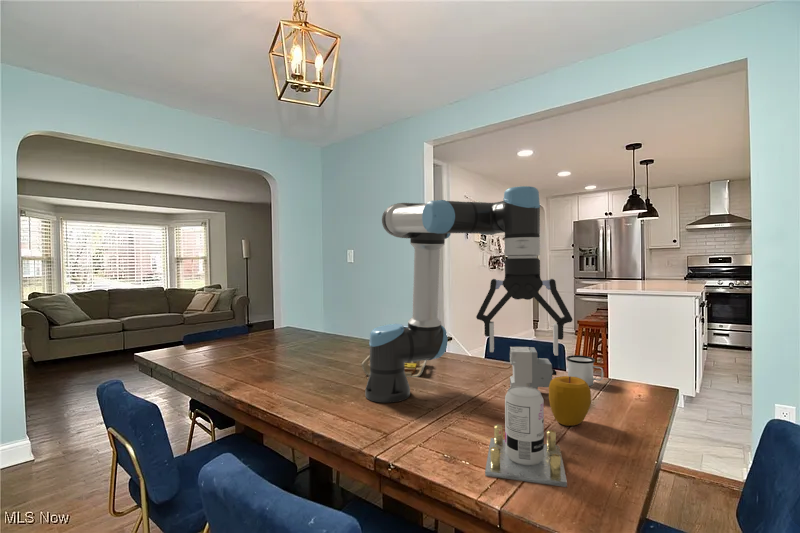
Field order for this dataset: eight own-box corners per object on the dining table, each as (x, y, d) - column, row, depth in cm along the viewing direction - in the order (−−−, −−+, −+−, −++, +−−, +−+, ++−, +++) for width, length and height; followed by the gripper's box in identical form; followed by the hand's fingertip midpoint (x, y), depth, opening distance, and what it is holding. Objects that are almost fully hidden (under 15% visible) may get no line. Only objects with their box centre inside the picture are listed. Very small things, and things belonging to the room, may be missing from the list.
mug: (563, 384, 143) (563, 359, 143) (569, 377, 150) (569, 354, 150) (600, 390, 136) (600, 364, 136) (604, 383, 144) (604, 358, 143)
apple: (588, 435, 102) (588, 385, 102) (544, 426, 108) (544, 379, 107) (593, 420, 111) (593, 374, 111) (553, 412, 117) (552, 369, 117)
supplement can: (500, 449, 93) (499, 386, 92) (534, 448, 93) (534, 384, 93) (513, 468, 85) (512, 398, 84) (550, 465, 85) (550, 396, 85)
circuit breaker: (557, 399, 128) (557, 352, 128) (511, 396, 131) (511, 351, 131) (553, 391, 135) (553, 347, 135) (510, 389, 138) (509, 346, 138)
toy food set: (361, 376, 158) (361, 357, 158) (371, 364, 176) (371, 347, 176) (424, 378, 154) (424, 358, 154) (428, 365, 172) (428, 348, 172)
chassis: (485, 475, 84) (484, 452, 84) (490, 441, 99) (490, 422, 99) (567, 487, 79) (566, 462, 79) (559, 449, 94) (559, 429, 94)
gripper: (463, 258, 88) (464, 353, 89) (586, 256, 81) (586, 359, 81) (467, 258, 96) (469, 346, 96) (580, 256, 88) (581, 351, 89)
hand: (523, 352), depth 89 cm, fingers open, 13 cm apart
